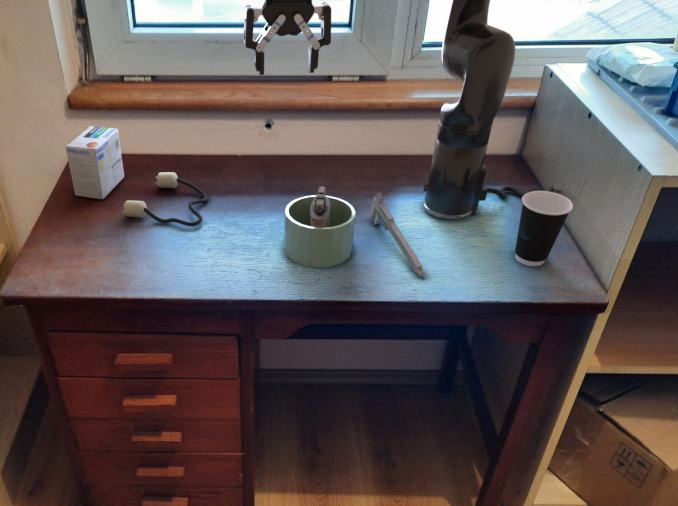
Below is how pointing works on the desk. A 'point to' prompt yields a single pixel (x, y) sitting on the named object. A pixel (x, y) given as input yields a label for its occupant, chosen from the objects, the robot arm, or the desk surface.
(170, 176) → the cable
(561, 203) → the dixie cup
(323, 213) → the lighter
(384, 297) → the desk surface
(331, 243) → the pencil cup
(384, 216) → the caliper
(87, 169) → the light bulb box
